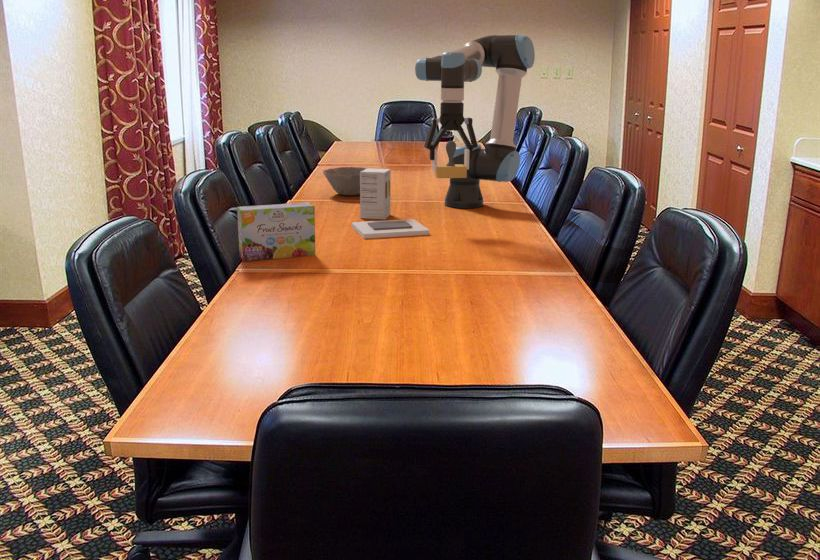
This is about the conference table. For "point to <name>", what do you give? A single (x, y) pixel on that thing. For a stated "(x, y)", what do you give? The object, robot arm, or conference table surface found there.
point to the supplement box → (375, 193)
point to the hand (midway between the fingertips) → (450, 169)
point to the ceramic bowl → (344, 179)
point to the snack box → (276, 231)
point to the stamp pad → (390, 228)
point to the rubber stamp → (451, 165)
